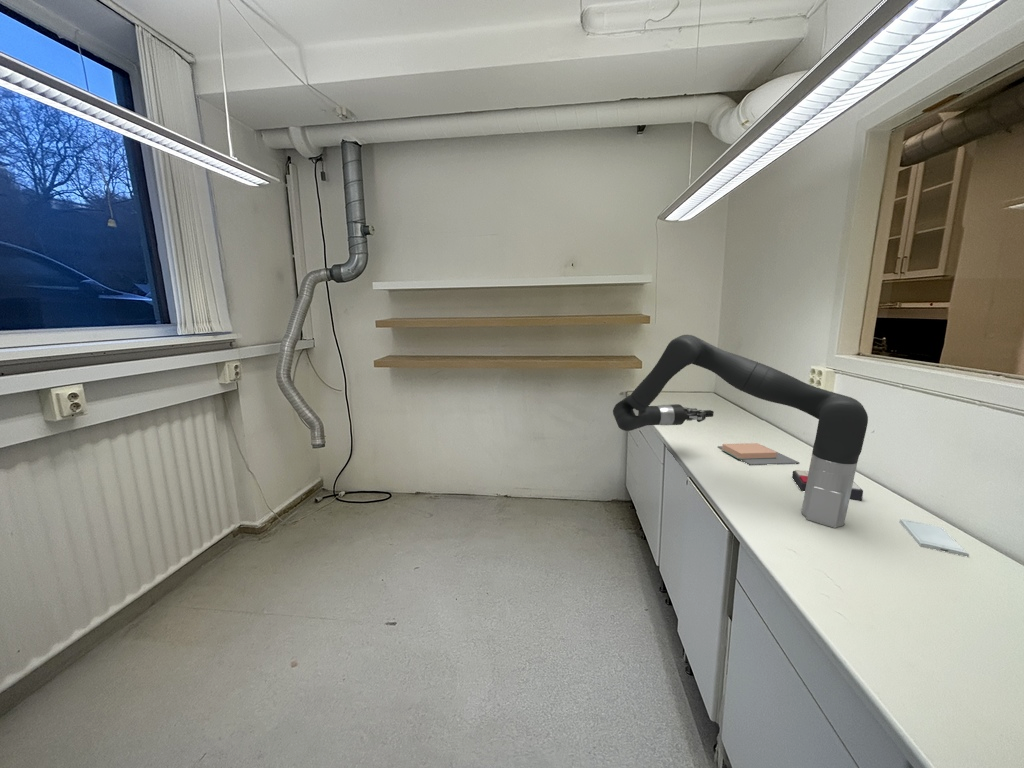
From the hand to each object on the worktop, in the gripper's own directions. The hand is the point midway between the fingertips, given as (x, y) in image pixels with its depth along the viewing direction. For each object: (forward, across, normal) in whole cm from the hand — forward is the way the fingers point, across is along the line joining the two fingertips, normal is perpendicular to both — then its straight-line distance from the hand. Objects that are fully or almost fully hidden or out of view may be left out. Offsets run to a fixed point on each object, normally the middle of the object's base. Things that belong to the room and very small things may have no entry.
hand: (712, 413), depth 143 cm
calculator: (+22, -27, +19) cm, 39 cm away
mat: (+21, +1, +18) cm, 27 cm away
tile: (+10, +1, +16) cm, 18 cm away
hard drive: (+24, -54, +20) cm, 62 cm away
